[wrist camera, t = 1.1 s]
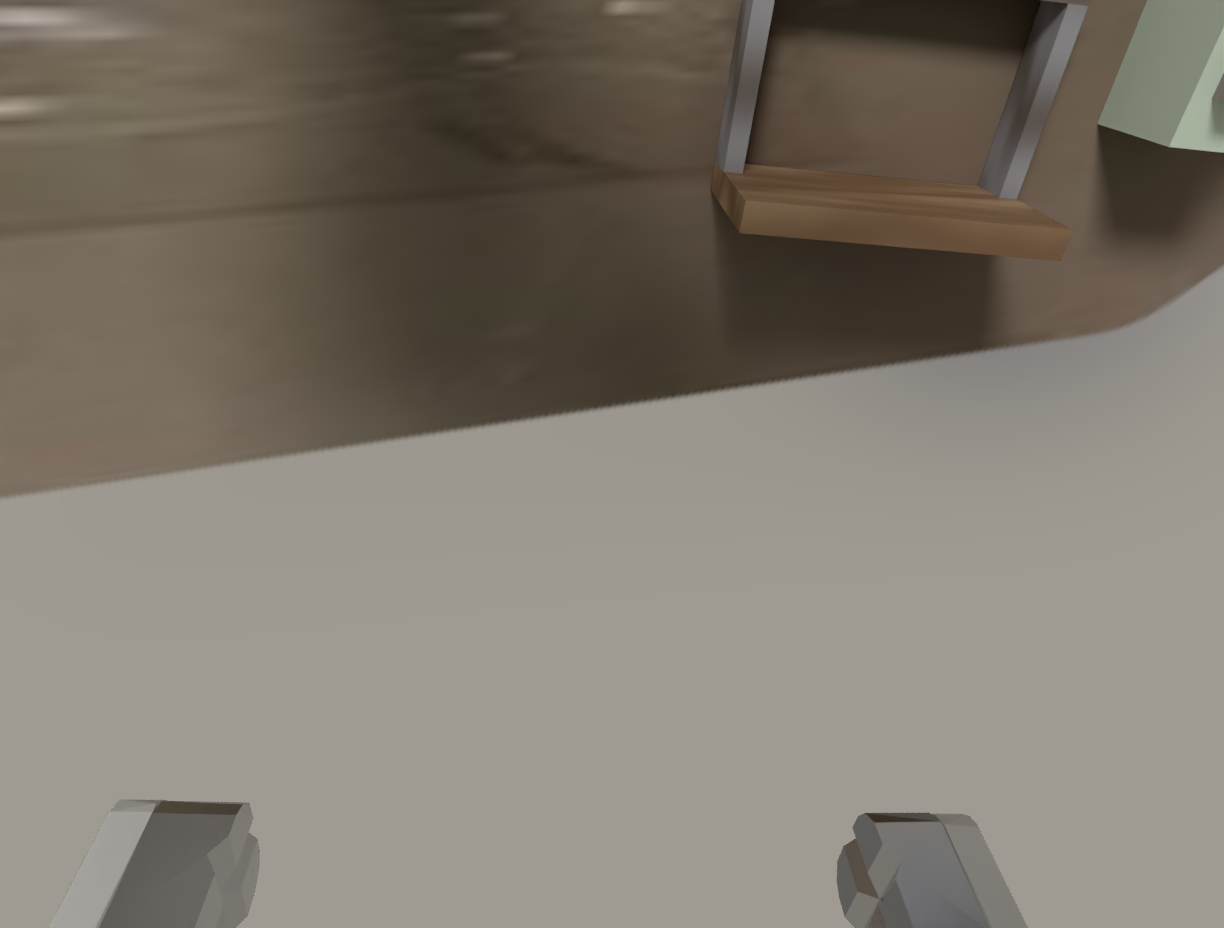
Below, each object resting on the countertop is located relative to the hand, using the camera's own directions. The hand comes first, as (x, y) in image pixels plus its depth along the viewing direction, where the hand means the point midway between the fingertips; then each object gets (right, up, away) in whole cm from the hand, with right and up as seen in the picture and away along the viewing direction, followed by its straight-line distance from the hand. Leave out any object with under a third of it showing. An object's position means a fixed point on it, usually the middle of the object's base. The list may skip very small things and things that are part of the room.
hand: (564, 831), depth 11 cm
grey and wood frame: (+15, +25, +30) cm, 42 cm away
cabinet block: (+30, +26, +31) cm, 50 cm away
